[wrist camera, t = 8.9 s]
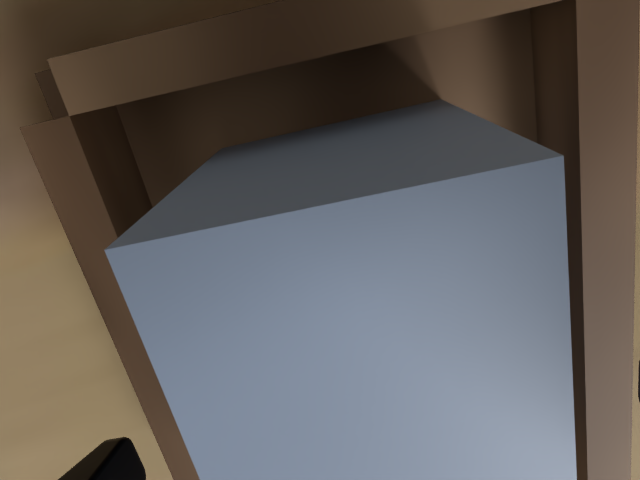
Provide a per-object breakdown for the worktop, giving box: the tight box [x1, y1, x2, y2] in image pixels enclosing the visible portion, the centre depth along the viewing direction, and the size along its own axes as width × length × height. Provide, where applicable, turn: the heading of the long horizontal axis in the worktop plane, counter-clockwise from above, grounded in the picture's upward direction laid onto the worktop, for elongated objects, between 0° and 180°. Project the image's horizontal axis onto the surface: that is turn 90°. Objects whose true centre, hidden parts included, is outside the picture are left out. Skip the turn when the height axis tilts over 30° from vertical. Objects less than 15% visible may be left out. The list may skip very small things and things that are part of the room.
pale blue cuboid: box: [104, 99, 577, 480], centre depth 9 cm, size 5×9×6 cm, turn 13°
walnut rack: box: [20, 0, 640, 480], centre depth 12 cm, size 12×14×3 cm
